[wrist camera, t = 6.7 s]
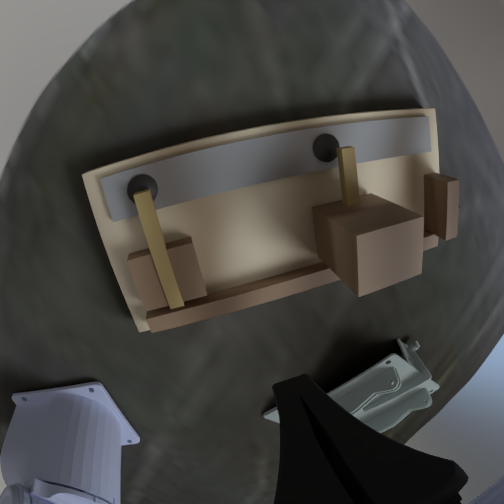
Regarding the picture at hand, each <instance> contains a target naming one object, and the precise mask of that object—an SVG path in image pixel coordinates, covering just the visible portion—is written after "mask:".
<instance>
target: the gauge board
mask: <svg viewBox="0 0 504 504" xmlns="http://www.w3.org/2000/svg"><path fill="white" fill-rule="evenodd" d="M346 146H352V147H354V148H355V156H356V166H357V175H358V186H359V196H361V195H365V194H369V193H372V194H374V195H377V196H379V197H381V198H384V199H386V200H388V201H391V202H393V203H395V204H397V205H400V206H402V207H404V208H406V209H409V210H411V211H413V212H415V213H417V214H420V215H422V216H424V235H423V251H425V250H428V249H430V248H433V247H436V246H438V237H440V238H442V239H444V240H449V239H452V238H454V237H457V231H458V213H459V179H455V178H452V177H449V176H446V175H442V174H439V155H438V138H437V125H436V115H435V109H432V108H414V109H395V110H380V111H368V112H357V113H347V114H338V115H330V116H322V117H314V118H307V119H300V120H294V121H287V122H281V123H275V124H269V125H264V126H258V127H253V128H248V129H243V130H238V131H233V132H228V133H223V134H219V135H214V136H210V137H205V138H201V139H197V140H193V141H189V142H185V143H181V144H177V145H173V146H169V147H165V148H162V149H158V150H154V151H151V152H147V153H144V154H140V155H137V156H134V157H130V158H127V159H124V160H121V161H117V162H114V163H111V164H108V165H105V166H102V167H99V168H96V169H93V170H90V171H87V172H85V173H84V174H82V177H83V181H84V184H85V188H86V191H87V195H88V198H89V201H90V204H91V208H92V211H93V214H94V217H95V220H96V223H97V226H98V229H99V232H100V235H101V238H102V241H103V243H104V246H105V249H106V252H107V254H108V257H109V260H110V263H111V265H112V268H113V270H114V273H115V276H116V278H117V281H118V283H119V286H120V288H121V291H122V293H123V295H124V298H125V300H126V303H127V305H128V307H129V310H130V312H131V314H132V317H133V319H134V321H135V323H136V326H137V328H138V330H139V332H143V331H147V330H151V333H154V332H158V331H162V330H166V329H170V328H174V327H178V326H182V325H186V324H190V323H194V322H197V321H201V320H205V319H209V318H212V317H216V316H220V315H223V314H227V313H231V312H234V311H238V310H241V309H245V308H248V307H252V306H255V305H259V304H262V303H266V302H269V301H272V300H276V299H279V298H283V297H286V296H289V295H292V294H296V293H299V292H302V291H306V290H309V289H312V288H315V287H318V286H322V285H325V284H328V283H331V282H334V281H337V280H340V278H339V277H338V276H337V275H336V274H335V273H334V272H333V271H332V270H331V269H330V268H329V267H328V266H327V265H326V264H325V263H324V262H323V261H321V260H320V259H319V258H318V252H317V243H316V234H315V226H314V217H313V209H312V207H314V206H318V205H322V204H326V203H331V202H335V201H339V200H342V193H341V183H340V174H339V166H338V158H337V150H336V148H340V147H346Z"/></svg>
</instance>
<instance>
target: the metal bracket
mask: <svg viewBox="0 0 504 504" xmlns="http://www.w3.org/2000/svg"><path fill="white" fill-rule="evenodd" d="M397 342H398V344H399V346H400V349H401V351H402V353H403V356H404V358H405V360H404V359H402V358H401V357H400V356H398V355H397V354H395V353H393V354H390V355H389V356H387V357H386V358H384V359H383V360H381V361H380V362H378V363H377V364H375V365H373V366H372V367H370V368H369V369H367V370H366V371H364V372H362V373H361V374H359V375H358V376H356V377H354V378H353V379H351V380H349V381H348V382H346V383H344V384H343V385H341V386H339V387H337V388H336V389H334V390H332V391H330V392H329V393H327V395H329V396H330V397H331V398H332V399H333V400H334V401H335V402H337V403H338V404H339V405H340V406H341V407H343V408H344V409H345V410H346V411H348V412H349V413H350V414H352V415H353V416H354V417H356V418H357V419H359V420H360V421H362V422H363V423H364V424H366V425H368V426H369V427H371V428H372V429H374V430H376V431H377V432H379V433H382V432H384V431H386V430H388V429H390V428H392V427H394V426H395V425H396V424H398V423H399V422H400V421H401V420H402V419H403V418H404V417H406V416H407V415H408V414H409V413H410V412H411V411H413V410H418V409H423V408H427V407H429V406H430V405H431V403H432V399H431V396H430V394H431V393H433V392H434V391H436V390H438V389H439V388H440V387H439V385H438V384H436V383H435V382H434V381H432V380H431V374H430V373H429V371H428V370H427V368H426V367H425V365H424V364H423V362H422V361H421V359H420V358H419V357H418V355H417V354H416V352H414V351H416V350H417V349H418V348H420V345H419V343H418V342H417V341H415V343H413V344H411V345H410V346H409V347H408V346H407V345H406V344H405V343H403V342H401V340H400V339H399V338H398V339H397ZM387 361H390V362H388V363H386V362H387ZM425 400H426V402H425V403H424V401H425ZM263 416H264V417H265V418H266V419H269V420H272V421H275V422H278V423H280V422H279V414H278V410H277V406H276V407H274V408H272V409H271V410H269V411H267V412H265V413H264V414H263Z"/></svg>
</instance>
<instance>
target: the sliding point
mask: <svg viewBox="0 0 504 504" xmlns="http://www.w3.org/2000/svg"><path fill="white" fill-rule="evenodd" d="M336 150H337V158H338V166H339V174H340V183H341V193H342V200H339V201H335V202H331V203H326V204H322V205H318V206H314V207H312V209H313V217H314V226H315V234H316V243H317V252H318V258H319V259H320V260H321V261H323V262H324V263H325V264H326V265H327V266H328V267H329V268H330V269H331V270H332V271H333V272H334V273H335V274H336V275H337V276H338V277H339V278H340V279H341V280H342V281H343V282H344V283H345V284H346V285H347V286H348V287H349V288H350V289H351V290H352V291H353V292H354V293H355V294H356V295H357V296H358V297H360V296H363V295H366V294H369V293H372V292H374V291H377V290H380V289H382V288H385V287H388V286H390V285H393V284H396V283H398V282H401V281H403V280H406V279H409V278H411V277H414V276H416V275H419V274H421V273H422V257H423V235H424V216H422V215H420V214H417V213H415V212H413V211H411V210H409V209H406V208H404V207H402V206H400V205H397V204H395V203H393V202H391V201H388V200H386V199H384V198H381V197H379V196H377V195H374V194H372V193H369V194H365V195H361V196H359V186H358V175H357V166H356V156H355V148H354V147H352V146H346V147H340V148H336Z"/></svg>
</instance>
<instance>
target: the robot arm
mask: <svg viewBox="0 0 504 504" xmlns="http://www.w3.org/2000/svg"><path fill="white" fill-rule="evenodd" d="M91 388H93V389H91ZM272 388H273V392H274V397H275V401H276V406H277V410H278V414H279V422H280V463H279V474H278V481H277V489H276V495H275V500H274V504H461V503H460V501H461V500H462V498H461V496H460V495H459V493H458V492H459V491H460V490H461V489H462V488H463V486H464V485H465V484H466V483H467V481H468V476H467V474H466V473H465V472H464V470H463V469H461V467H459V465H457V464H456V463H455V462H454V461H452V460H448V459H444V458H440V457H436V456H433V455H430V454H426V453H424V452H421V451H418V450H415V449H413V448H410V447H408V446H406V445H403V444H401V443H399V442H396V441H394V440H392V439H390V438H388V437H387V436H385V435H383V434H381V433H379V432H377V431H376V430H374V429H372V428H371V427H369V426H368V425H366V424H364V423H363V422H362V421H360V420H359V419H357V418H356V417H354V416H353V415H352V414H350V413H349V412H348V411H346V410H345V409H344V408H343V407H341V406H340V405H339V404H338V403H337V402H335V401H334V400H333V399H332V398H331V397H330V396H329V395H327V394H326V393H325V392H324V391H323V390H322V389H321V388H320V387H319V386H318V385H317V384H316V383H315V382H314V381H313V380H312V378H311V377H310V376H309V375H308V374H303V375H300V376H297V377H294V378H291V379H288V380H285V381H282V382H279V383H276V384H274V385H273V386H272ZM12 400H13V401H14V403H15V404H16V408H15V411H14V414H13V416H12V419H11V422H10V425H9V428H8V431H7V435H6V438H5V441H4V444H3V448H2V451H1V456H0V465H1V471H2V476H3V479H4V481H5V483H6V485H7V487H6V488H5V489H4V490H3V492H2V494H1V496H0V504H120V466H121V445H129V444H136V443H139V442H140V437H139V436H138V435H137V433H136V432H135V431H134V429H133V428H132V427H131V425H130V424H129V423H128V421H127V420H126V418H125V417H124V416H123V414H122V413H121V411H120V410H119V409H118V407H117V406H116V404H115V403H114V401H113V400H112V398H111V397H110V395H109V394H108V392H107V391H106V389H105V388H104V386H103V385H102V384H101V383H99V382H89V383H83V384H77V385H71V386H65V387H59V388H52V389H45V390H37V391H30V392H22V393H14V394H13V395H12ZM469 504H504V476H502V477H501V478H500V479H499V480H498V481H497V482H495V483H494V484H493V485H492V486H491V487H489V488H488V489H487V490H486V491H484V492H483V493H482V494H481V495H480V496H478V497H477V498H476V499H474V500H473V501H471V502H470V503H469Z"/></svg>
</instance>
